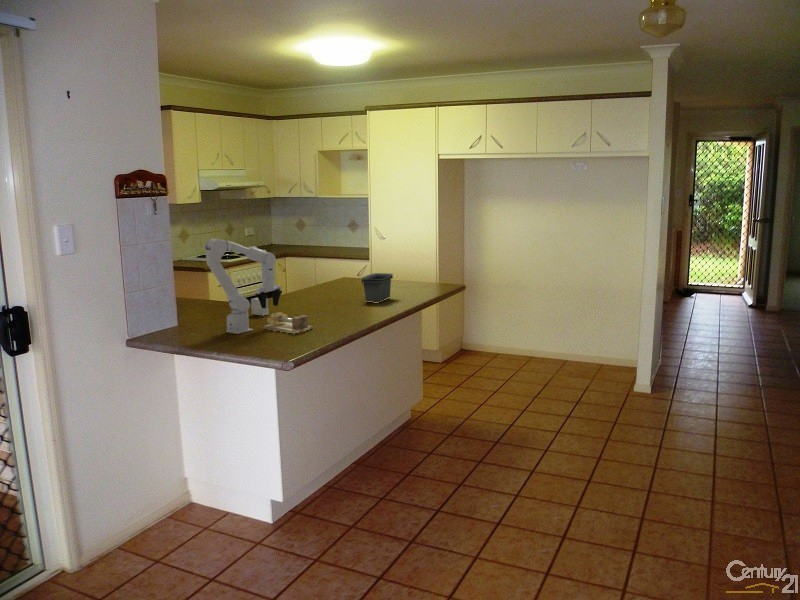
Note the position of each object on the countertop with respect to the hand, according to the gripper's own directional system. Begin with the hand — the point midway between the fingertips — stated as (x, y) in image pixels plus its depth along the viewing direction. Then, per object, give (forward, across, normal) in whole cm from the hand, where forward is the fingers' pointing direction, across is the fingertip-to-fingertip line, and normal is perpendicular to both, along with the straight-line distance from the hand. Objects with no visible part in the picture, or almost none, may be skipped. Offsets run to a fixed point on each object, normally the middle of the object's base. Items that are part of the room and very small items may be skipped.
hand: (269, 306), depth 314 cm
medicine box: (+10, +16, +24) cm, 31 cm away
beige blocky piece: (+9, 0, -12) cm, 15 cm away
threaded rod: (+6, 0, -10) cm, 12 cm away
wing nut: (+8, 0, -5) cm, 9 cm away
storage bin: (+9, +80, -2) cm, 80 cm away
